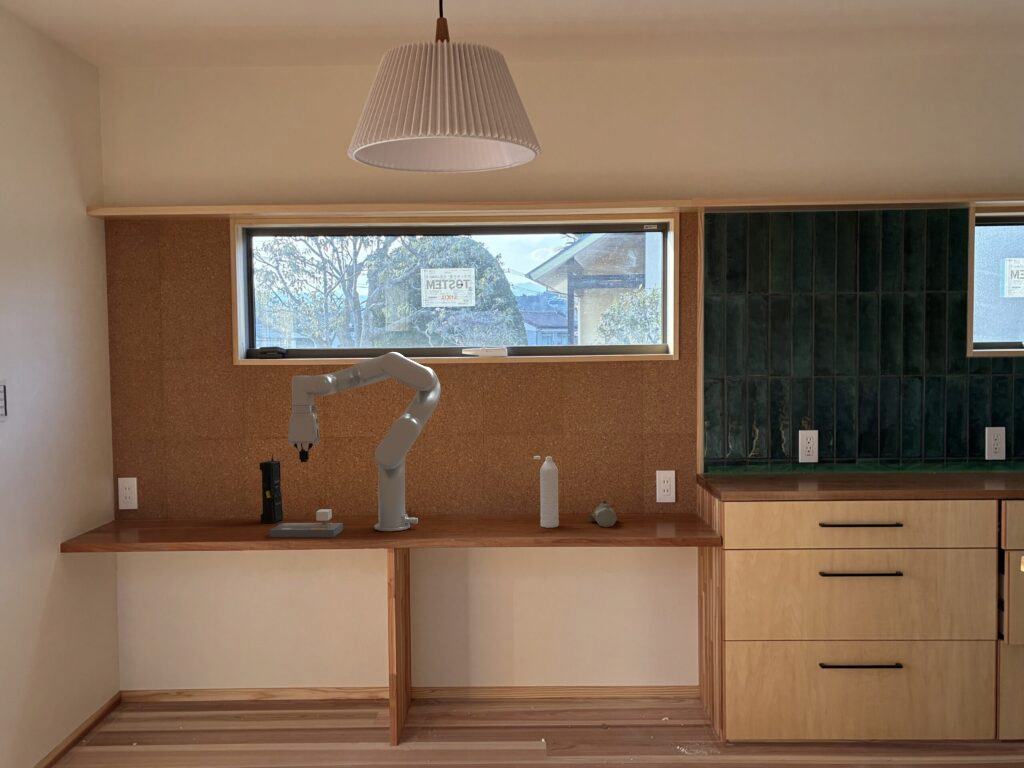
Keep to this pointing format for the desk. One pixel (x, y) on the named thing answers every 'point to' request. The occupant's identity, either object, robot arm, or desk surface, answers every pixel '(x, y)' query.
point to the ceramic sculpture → (604, 515)
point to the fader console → (306, 530)
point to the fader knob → (324, 515)
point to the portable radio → (271, 492)
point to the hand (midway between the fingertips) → (304, 461)
